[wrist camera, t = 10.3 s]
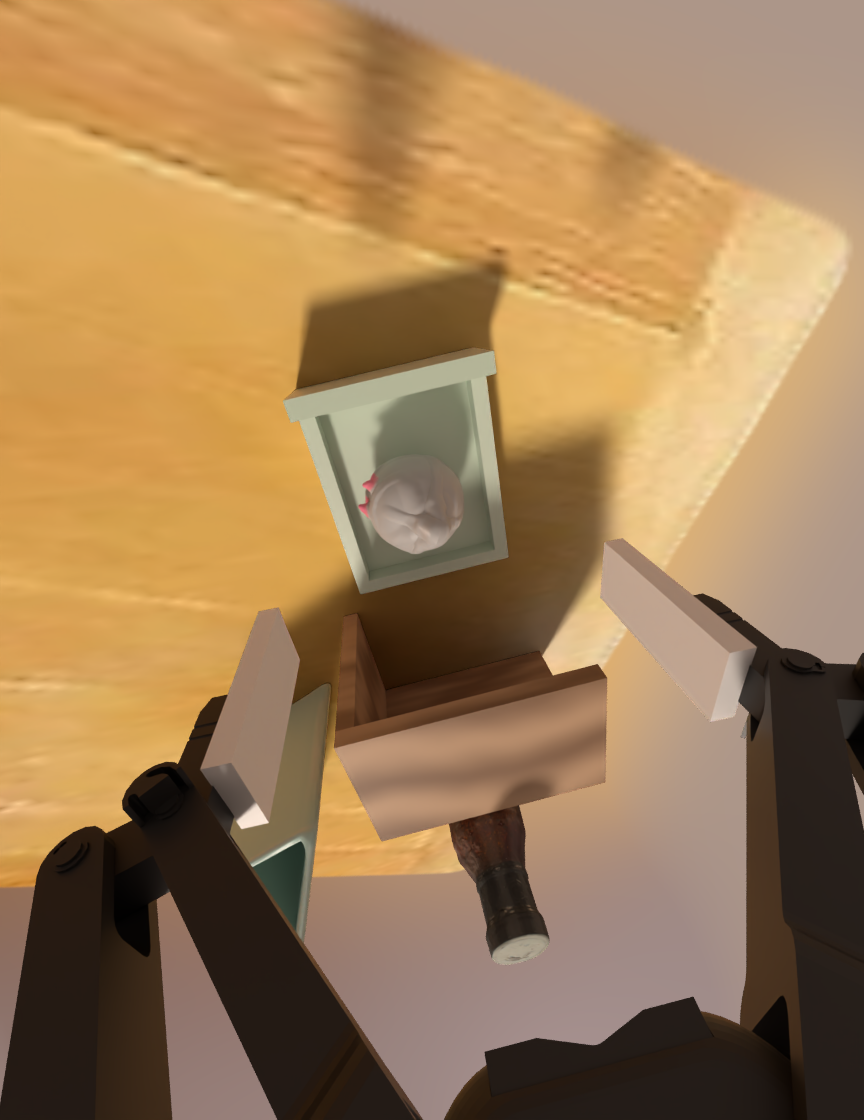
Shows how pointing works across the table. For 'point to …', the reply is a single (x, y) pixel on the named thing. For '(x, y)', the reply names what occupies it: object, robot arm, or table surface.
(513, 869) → the sauce bottle
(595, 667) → the wooden open box
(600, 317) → the table surface
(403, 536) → the figurine
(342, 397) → the tray
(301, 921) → the grey piece
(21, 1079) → the robot arm
